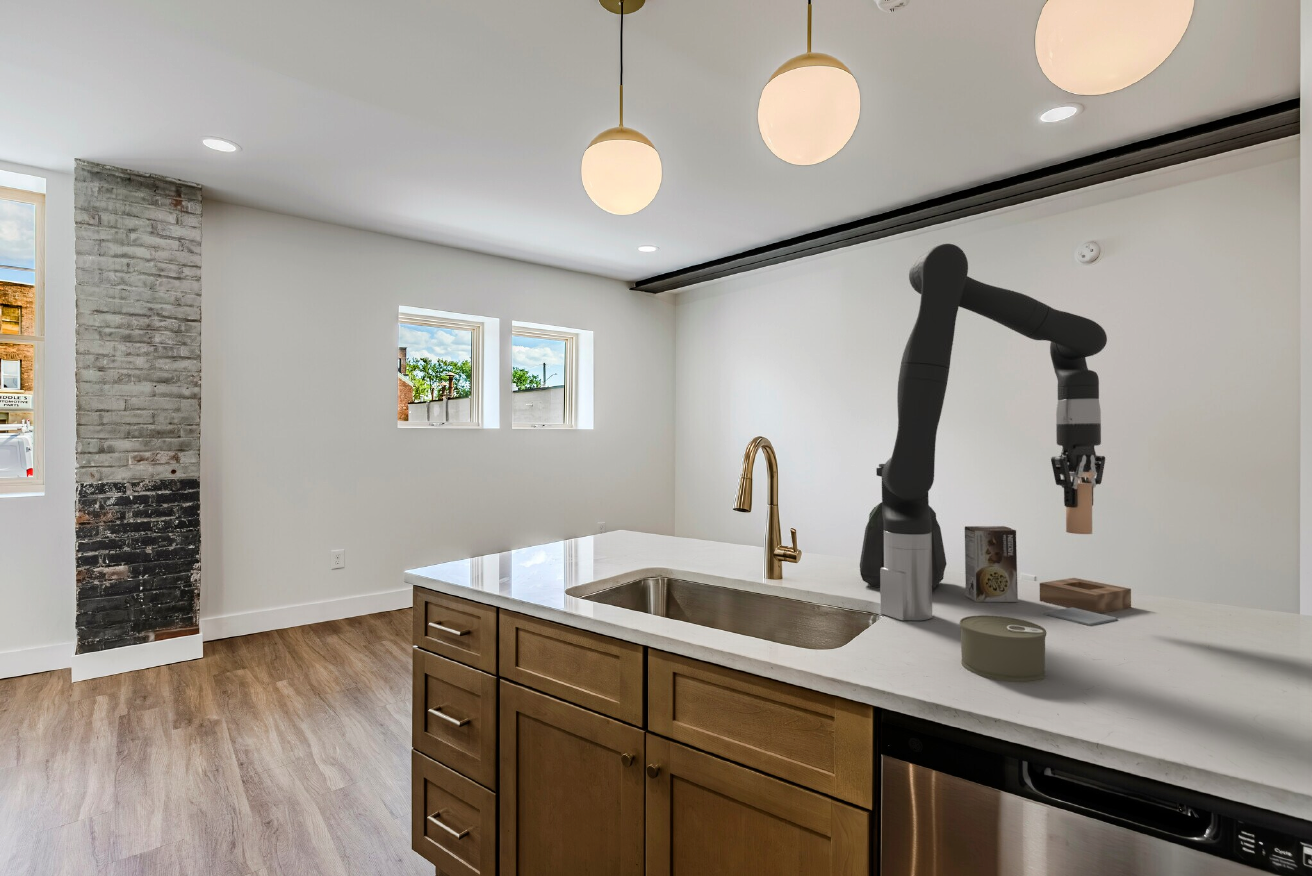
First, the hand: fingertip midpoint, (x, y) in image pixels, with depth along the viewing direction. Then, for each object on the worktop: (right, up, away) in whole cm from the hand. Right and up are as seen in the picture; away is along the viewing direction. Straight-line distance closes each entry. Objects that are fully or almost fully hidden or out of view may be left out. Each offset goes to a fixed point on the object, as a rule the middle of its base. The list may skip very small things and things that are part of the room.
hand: (1078, 506), depth 129 cm
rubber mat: (0, -22, 0) cm, 22 cm away
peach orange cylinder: (0, -5, 0) cm, 5 cm away
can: (-31, -23, -28) cm, 48 cm away
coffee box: (-10, -23, +15) cm, 29 cm away
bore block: (+8, -22, +10) cm, 26 cm away
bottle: (-24, -23, +30) cm, 45 cm away
